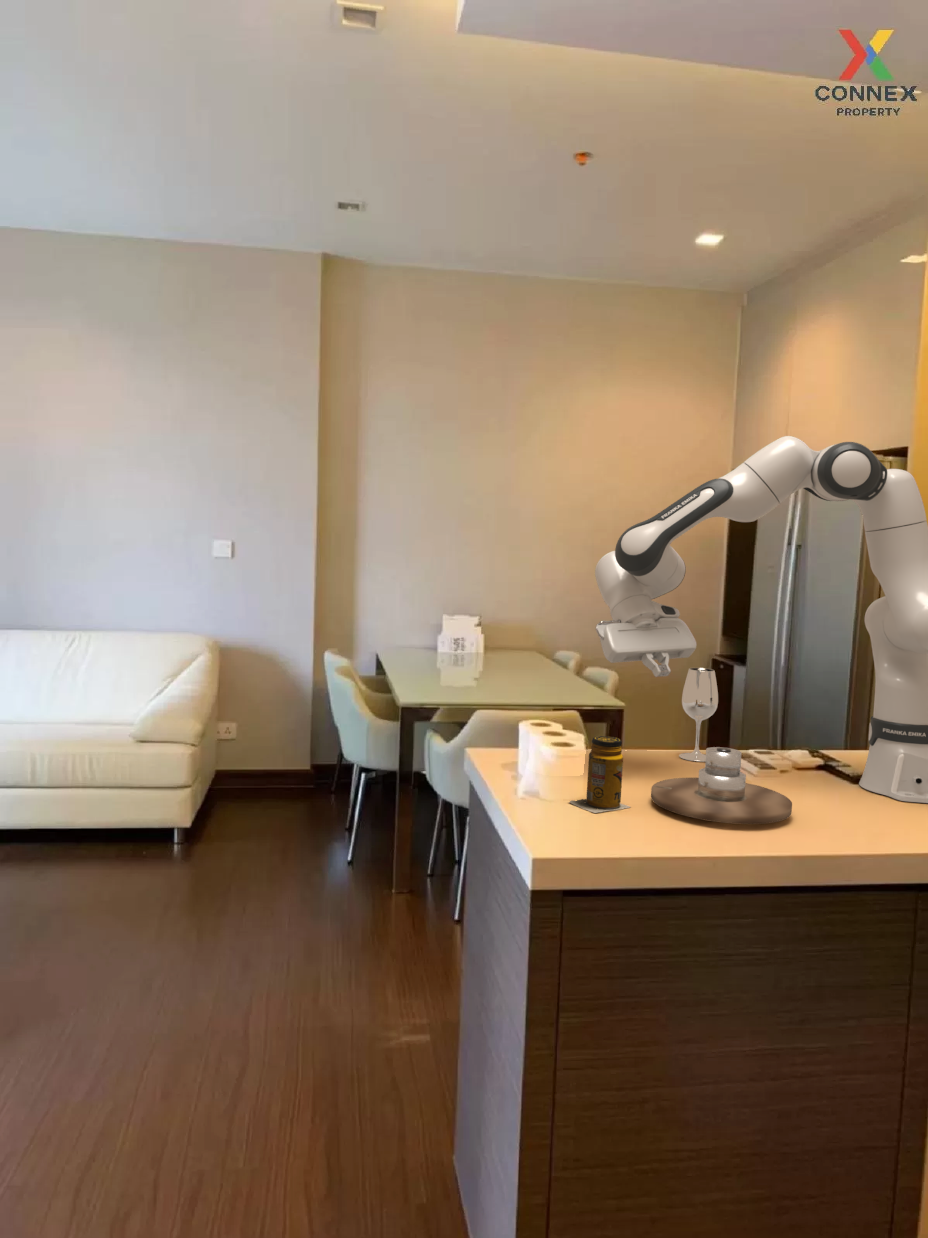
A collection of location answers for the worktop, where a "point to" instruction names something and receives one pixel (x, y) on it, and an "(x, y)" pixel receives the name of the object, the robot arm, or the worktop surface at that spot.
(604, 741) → the condiment
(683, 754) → the wineglass
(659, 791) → the disc
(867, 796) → the worktop surface
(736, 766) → the stacked silver spool
